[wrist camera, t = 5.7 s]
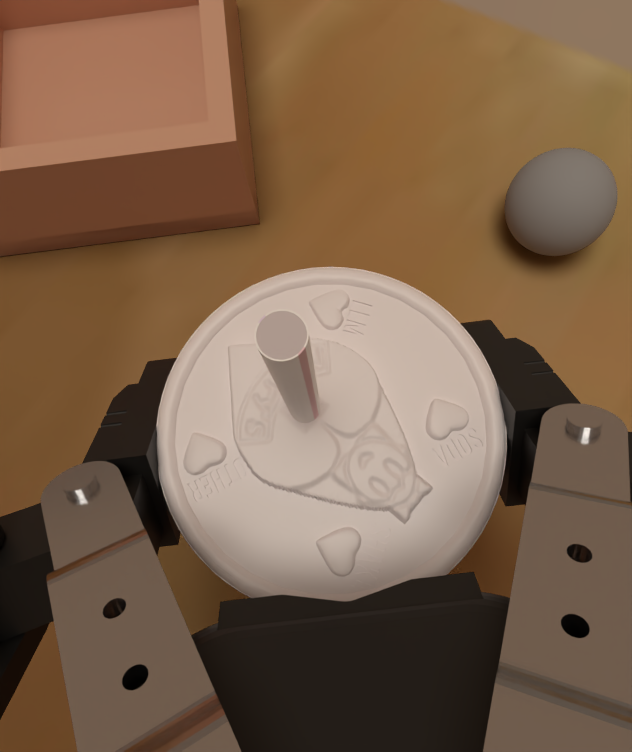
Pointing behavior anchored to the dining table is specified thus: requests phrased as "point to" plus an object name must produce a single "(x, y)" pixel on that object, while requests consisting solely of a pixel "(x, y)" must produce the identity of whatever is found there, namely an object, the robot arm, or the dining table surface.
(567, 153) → the ball
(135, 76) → the pink square tray
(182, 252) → the dining table surface
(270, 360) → the smoothie
